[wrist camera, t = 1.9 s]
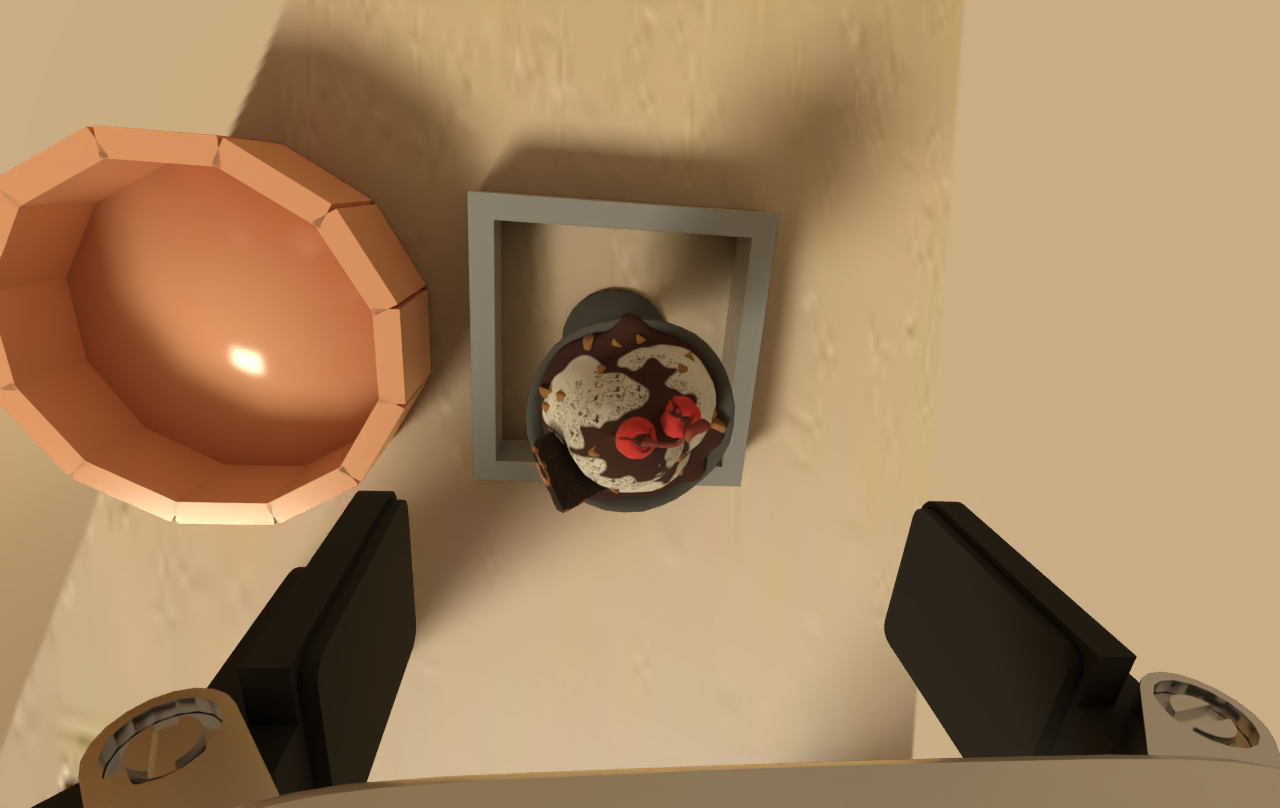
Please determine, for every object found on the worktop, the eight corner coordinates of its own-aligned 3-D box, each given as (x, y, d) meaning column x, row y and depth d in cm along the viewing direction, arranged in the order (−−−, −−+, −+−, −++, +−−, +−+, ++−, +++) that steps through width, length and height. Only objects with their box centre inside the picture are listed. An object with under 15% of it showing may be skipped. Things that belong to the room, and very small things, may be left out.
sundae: (691, 273, 28) (803, 366, 14) (676, 410, 30) (759, 608, 16) (547, 262, 27) (510, 350, 13) (542, 403, 29) (507, 605, 15)
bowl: (436, 478, 30) (412, 526, 26) (108, 471, 29) (26, 521, 24) (421, 154, 25) (389, 148, 21) (22, 122, 24) (-100, 109, 19)
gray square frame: (728, 463, 32) (740, 486, 29) (481, 457, 30) (473, 480, 28) (762, 211, 27) (779, 214, 25) (477, 190, 26) (467, 191, 24)
